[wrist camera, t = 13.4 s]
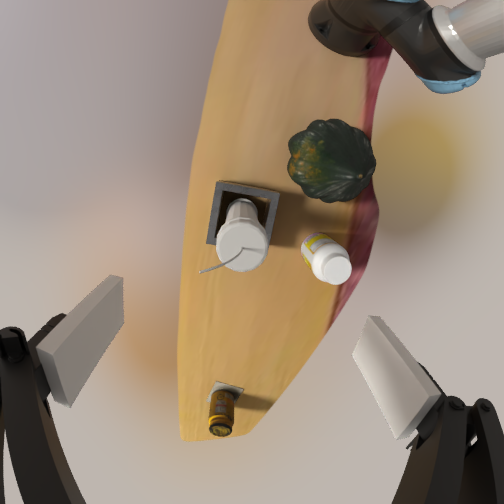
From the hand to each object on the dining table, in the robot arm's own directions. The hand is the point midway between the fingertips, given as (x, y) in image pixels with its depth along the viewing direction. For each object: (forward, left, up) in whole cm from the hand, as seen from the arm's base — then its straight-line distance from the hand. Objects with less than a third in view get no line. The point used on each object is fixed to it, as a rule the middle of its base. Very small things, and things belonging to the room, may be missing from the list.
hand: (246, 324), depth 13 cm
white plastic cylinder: (0, 0, -39) cm, 39 cm away
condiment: (-3, +46, -39) cm, 61 cm away
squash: (-13, -12, -39) cm, 43 cm away
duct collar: (0, 0, -39) cm, 39 cm away
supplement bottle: (-15, +4, -39) cm, 42 cm away
